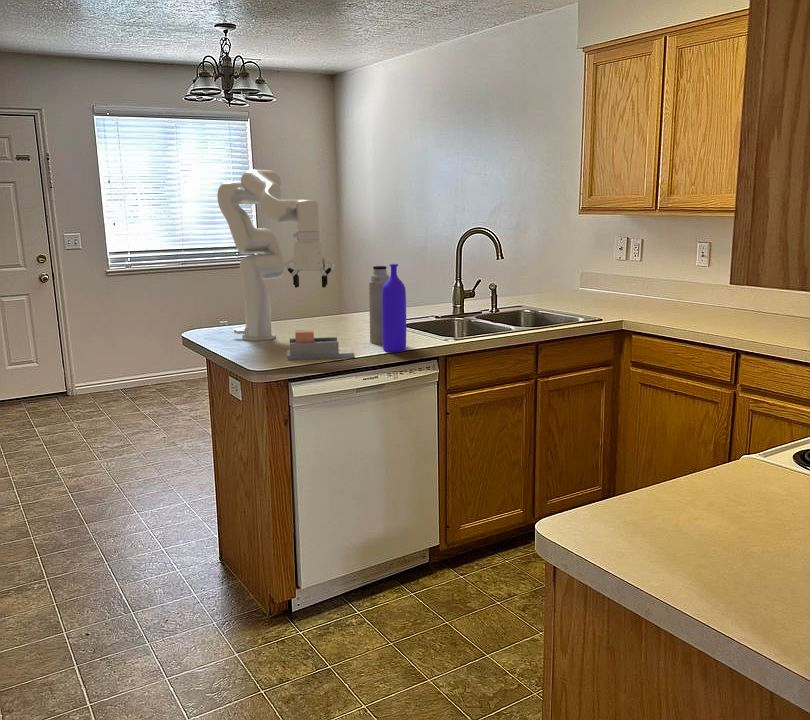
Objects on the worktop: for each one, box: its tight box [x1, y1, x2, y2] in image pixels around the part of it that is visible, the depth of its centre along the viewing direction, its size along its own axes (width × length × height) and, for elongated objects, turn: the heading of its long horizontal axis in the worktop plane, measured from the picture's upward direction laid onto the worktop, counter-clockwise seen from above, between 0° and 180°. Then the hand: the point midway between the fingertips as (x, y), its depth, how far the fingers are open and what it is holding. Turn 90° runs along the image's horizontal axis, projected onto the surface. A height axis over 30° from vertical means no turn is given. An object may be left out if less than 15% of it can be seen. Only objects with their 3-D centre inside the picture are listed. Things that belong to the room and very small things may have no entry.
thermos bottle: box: [368, 265, 390, 345], centre depth 272 cm, size 8×8×28 cm
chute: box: [286, 336, 355, 361], centre depth 251 cm, size 22×10×6 cm, turn 98°
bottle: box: [382, 263, 407, 353], centre depth 257 cm, size 8×8×30 cm
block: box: [294, 329, 315, 343], centre depth 250 cm, size 6×6×7 cm
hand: (310, 287), depth 257 cm, fingers open, 9 cm apart
